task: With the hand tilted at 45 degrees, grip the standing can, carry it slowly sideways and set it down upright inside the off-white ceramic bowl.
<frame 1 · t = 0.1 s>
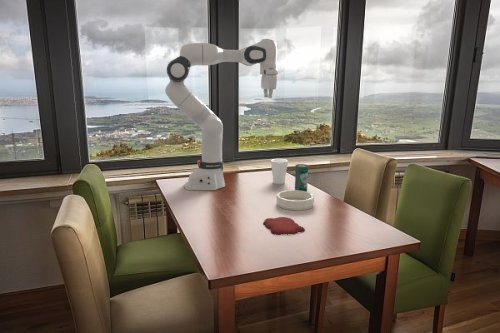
hand: (268, 97, 202), 48 cm above the table, tool pointing down, fingers open, 8 cm apart
foam cup: (278, 182, 214), on the table
red flat splat: (282, 227, 152), on the table
bowl: (295, 204, 178), on the table
can: (300, 193, 194), on the table
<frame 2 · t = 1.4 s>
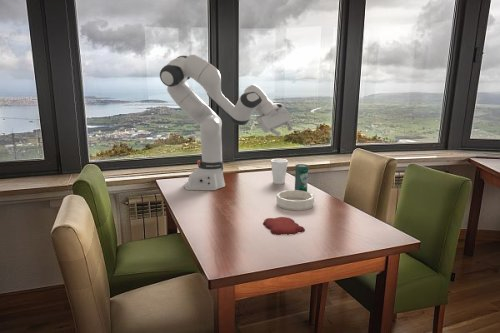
hand: (285, 132, 186), 32 cm above the table, tool tilted 45°, fingers open, 8 cm apart
nothing on the table moved.
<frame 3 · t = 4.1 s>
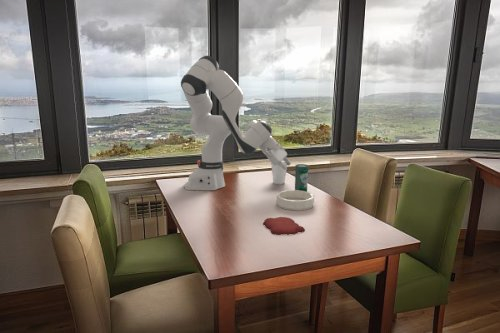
hand: (287, 166, 192), 14 cm above the table, tool tilted 45°, fingers open, 8 cm apart
nothing on the table moved.
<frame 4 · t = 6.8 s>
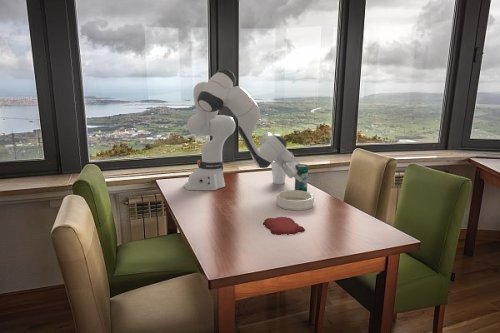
hand: (302, 178, 192), 8 cm above the table, tool tilted 45°, fingers closed on can, 6 cm apart
can: (300, 193, 194), on the table, touching gripper
everything else where it was.
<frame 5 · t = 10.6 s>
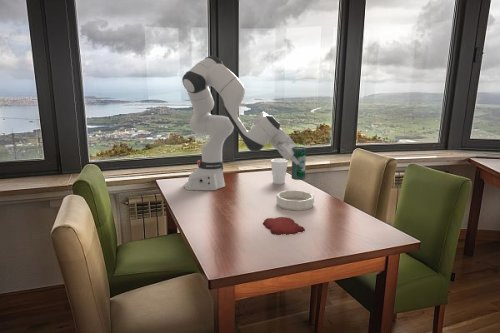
hand: (299, 161, 179), 19 cm above the table, tool tilted 45°, fingers closed on can, 6 cm apart
can: (298, 178, 181), point 11 cm above the table, touching gripper
everything else where it was.
when the fingers open (10 cm above the table, at t = 14.5 s): can stays where it is, resting on bowl.
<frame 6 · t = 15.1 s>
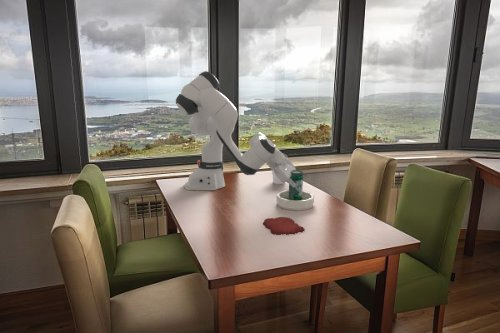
hand: (297, 183, 175), 10 cm above the table, tool tilted 45°, fingers open, 8 cm apart
can: (295, 202, 177), point 1 cm above the table, touching bowl
everything else where it was.
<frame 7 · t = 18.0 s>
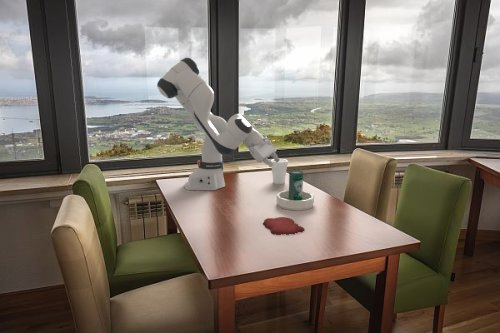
hand: (275, 163, 176), 19 cm above the table, tool tilted 45°, fingers open, 8 cm apart
nothing on the table moved.
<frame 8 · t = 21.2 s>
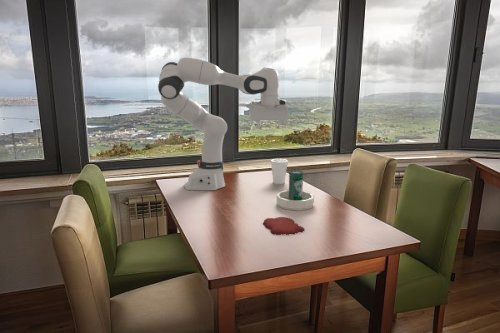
hand: (268, 128, 191), 33 cm above the table, tool pointing down, fingers open, 8 cm apart
nothing on the table moved.
at the end: can inside the target area on the bowl (0.0 cm from its centre), point 0.8 cm above the bowl's base; can tilted 0°; the gripper is holding nothing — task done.
